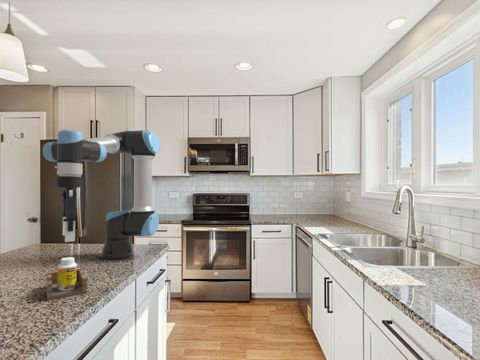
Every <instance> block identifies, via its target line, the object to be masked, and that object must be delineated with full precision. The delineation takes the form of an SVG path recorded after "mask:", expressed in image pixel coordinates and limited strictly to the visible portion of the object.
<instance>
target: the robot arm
mask: <svg viewBox="0 0 480 360" xmlns="http://www.w3.org/2000/svg"><path fill="white" fill-rule="evenodd" d="M160 145H161V144H160V140H159V137H158V135H157V133H156V132H154V131H153V130H145V129H144V130H125V131H124V130H123V131H119V132H114V133H108V134H105V135H104V136H101V137H92V138H91V137H90V138H84V134H83V133H82V132H81V131H78V130H71V129H63V130H59V131H58V133H57V139H56V141H51V142H47V143H45V144H44V145H43V147H42V156H43V157H44V158H45V160H47V161H49V162H55V163H56V164H57V165H54V169H56V175H58V176H56V182H55V183H56V184H55V185H56V187H57V188H64V189H63V192H62V193H61V194H62V197H61V198H62V204H63V205H62V206H63V207H62V236H64V242H65V243H68V242H75V241H76V219H77V215H76V214H77V213H76V204H77V203H76V202H77V192H76V190H75V188H82V187H83V177H82V175H83V166H84V165H83V162H92V163H101V162H103V161H104V160H105V159H106V158H107V155H108V154H111V155H112V154H130V157H131V158H132V159H133V160H134V161H133V164H134V165H133V207H132V208H131V209H128V210H118V211H111V212H107V214H106V217H105V240H104V241H105V242H104V245H103V247H102V251H101V256H100V257H101V259H106V260H116V259H117V260H119V259H125V258H129V257H132V256H133V255H134V249H133V245H132V242H131V237H142V238H144V237H152V236H153V235H155V234H156V232H157V230H158V229H159V225H160V218H159V217H160V216H159V215H158V214H157V213H155V211H156V210H155V208H154V207H153V206H152V202H153V201H152V199H153V198H152V197H153V196H152V193H153V192H152V189H153V184H152V183H153V175H152V174H153V172H152V171H153V160H154V159H155V157H156V154H158V153H159V152H160V147H161V146H160Z"/></svg>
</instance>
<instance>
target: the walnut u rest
mask: <svg viewBox="0 0 480 360" xmlns="http://www.w3.org/2000/svg"><path fill="white" fill-rule="evenodd" d="M46 275H47V276H46V299H47V301H53V300H58V299H63V298H69V297H74V296H78V295H86V294H87V293H88V290H87V289H88V278H87V276H86V273H85V271H84V269H83V268H77V276H76V287H75V288H74V289H72V290H68V291H59V290H57V276H58V271H55V272H48V273H46Z"/></svg>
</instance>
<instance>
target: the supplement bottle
mask: <svg viewBox="0 0 480 360" xmlns="http://www.w3.org/2000/svg"><path fill="white" fill-rule="evenodd" d="M77 266H78V265H77V263H76V262H75V257H73V256H68V257H63V258H61V259H60V264H58V265H57V272H58V276H57V290H59V291H68V290H72V289H74V288H75V287H76V276H77V269H78V267H77Z"/></svg>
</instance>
